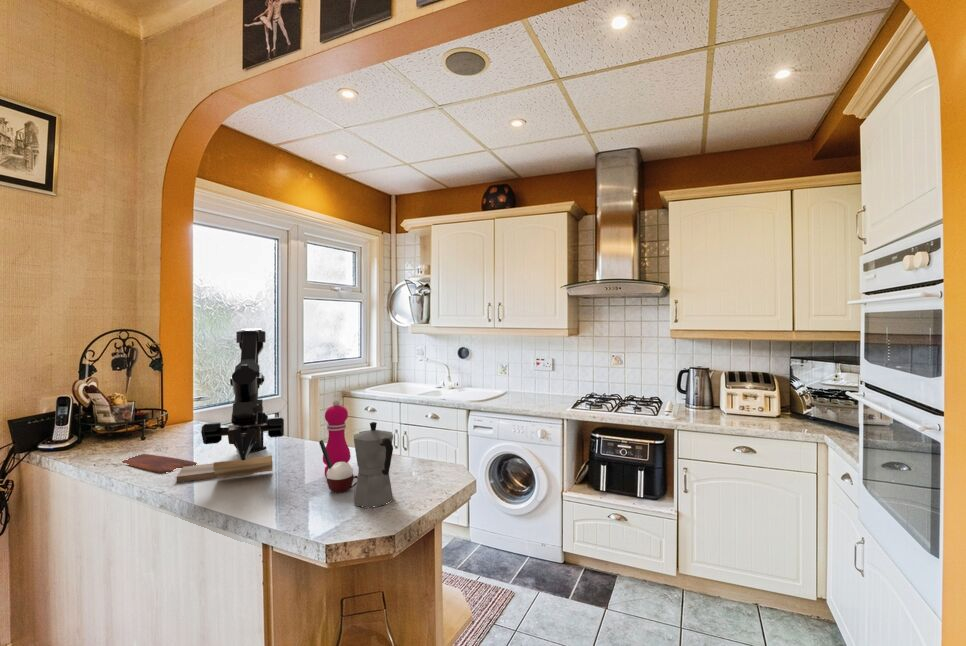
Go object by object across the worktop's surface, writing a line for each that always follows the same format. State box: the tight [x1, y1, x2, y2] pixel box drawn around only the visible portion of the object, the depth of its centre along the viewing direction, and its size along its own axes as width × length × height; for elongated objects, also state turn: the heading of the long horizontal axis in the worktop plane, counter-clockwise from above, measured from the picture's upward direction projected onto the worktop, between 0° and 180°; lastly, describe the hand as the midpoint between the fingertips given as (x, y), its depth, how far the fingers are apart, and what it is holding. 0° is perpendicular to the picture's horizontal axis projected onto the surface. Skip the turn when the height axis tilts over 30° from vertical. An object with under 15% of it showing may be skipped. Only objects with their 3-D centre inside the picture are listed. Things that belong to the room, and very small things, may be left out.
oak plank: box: [213, 455, 274, 479], centre depth 116 cm, size 10×13×2 cm
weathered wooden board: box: [176, 462, 219, 483], centre depth 122 cm, size 9×18×2 cm, turn 115°
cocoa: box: [318, 439, 358, 494], centre depth 109 cm, size 10×6×12 cm, turn 67°
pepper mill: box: [322, 399, 351, 477], centre depth 121 cm, size 7×7×20 cm
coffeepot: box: [353, 421, 394, 508], centre depth 102 cm, size 15×9×18 cm, turn 39°
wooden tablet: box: [122, 453, 198, 474], centre depth 131 cm, size 27×10×2 cm, turn 64°
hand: (243, 459), depth 110 cm, fingers closed
